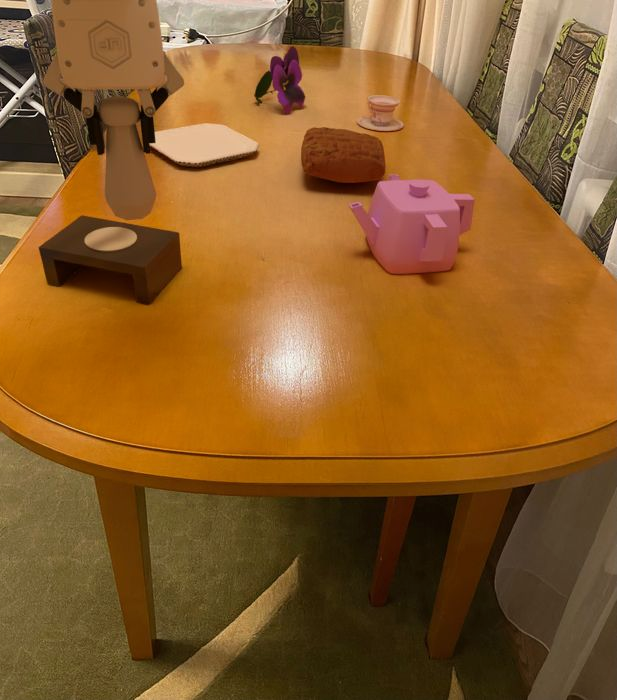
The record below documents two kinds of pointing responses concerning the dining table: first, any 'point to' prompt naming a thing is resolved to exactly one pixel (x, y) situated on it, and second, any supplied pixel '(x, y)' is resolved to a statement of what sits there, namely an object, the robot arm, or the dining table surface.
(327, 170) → the inscribed clay slab
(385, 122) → the teacup
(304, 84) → the dining table surface
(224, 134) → the plate
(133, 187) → the salt shaker
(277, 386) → the dining table surface
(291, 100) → the flower
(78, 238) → the shelf
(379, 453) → the dining table surface
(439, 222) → the teakettle
